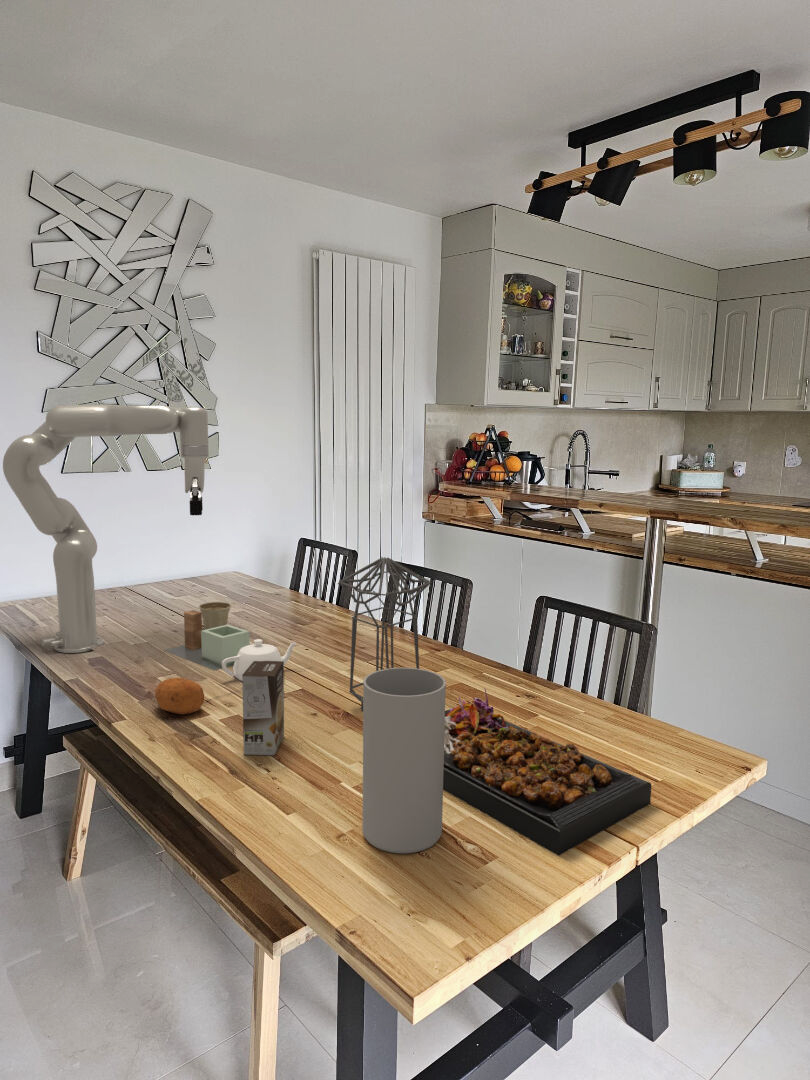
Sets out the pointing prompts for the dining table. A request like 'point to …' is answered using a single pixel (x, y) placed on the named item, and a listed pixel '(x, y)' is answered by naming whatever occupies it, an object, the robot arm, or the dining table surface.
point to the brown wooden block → (193, 629)
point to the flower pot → (214, 614)
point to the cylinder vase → (403, 758)
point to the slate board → (192, 656)
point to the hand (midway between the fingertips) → (196, 512)
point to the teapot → (254, 657)
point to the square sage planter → (223, 643)
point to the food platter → (533, 780)
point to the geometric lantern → (399, 574)
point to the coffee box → (263, 707)
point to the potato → (179, 695)
